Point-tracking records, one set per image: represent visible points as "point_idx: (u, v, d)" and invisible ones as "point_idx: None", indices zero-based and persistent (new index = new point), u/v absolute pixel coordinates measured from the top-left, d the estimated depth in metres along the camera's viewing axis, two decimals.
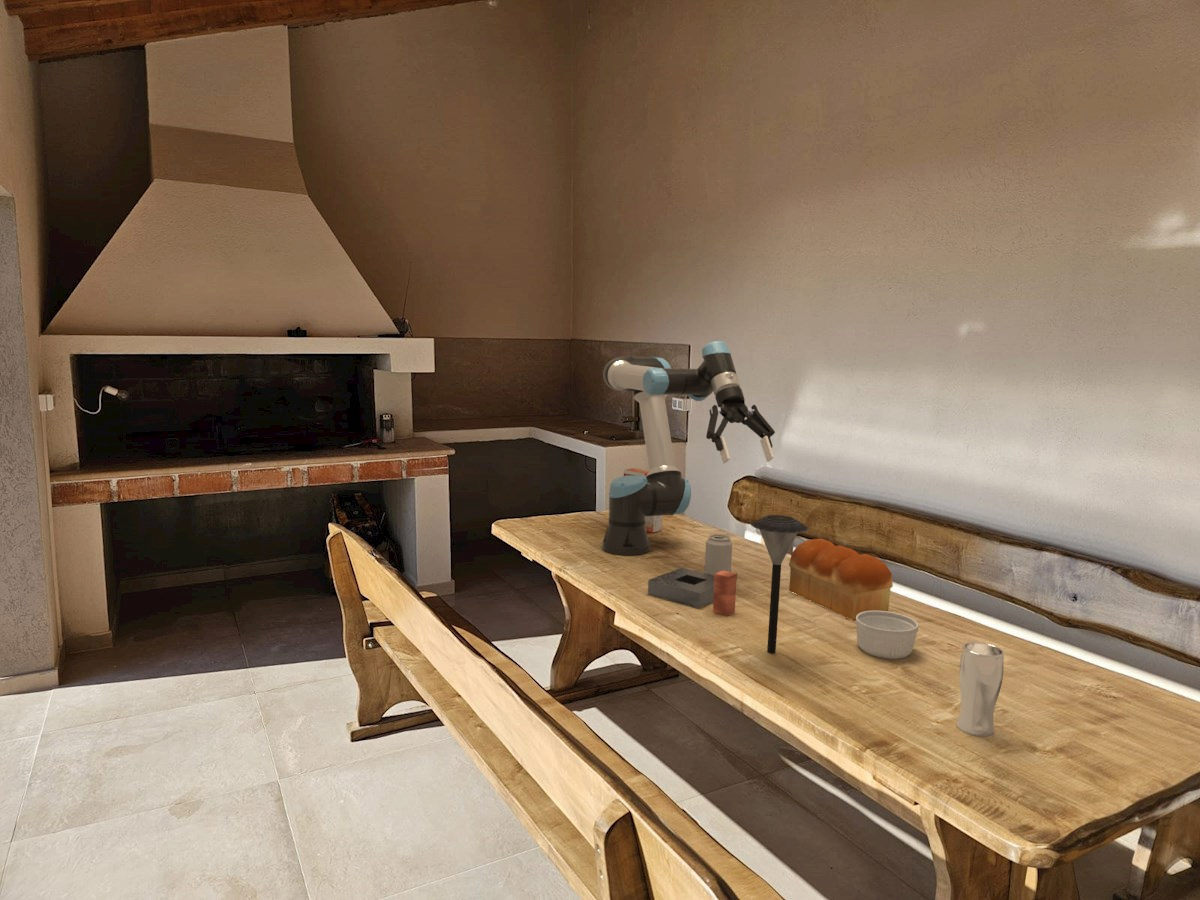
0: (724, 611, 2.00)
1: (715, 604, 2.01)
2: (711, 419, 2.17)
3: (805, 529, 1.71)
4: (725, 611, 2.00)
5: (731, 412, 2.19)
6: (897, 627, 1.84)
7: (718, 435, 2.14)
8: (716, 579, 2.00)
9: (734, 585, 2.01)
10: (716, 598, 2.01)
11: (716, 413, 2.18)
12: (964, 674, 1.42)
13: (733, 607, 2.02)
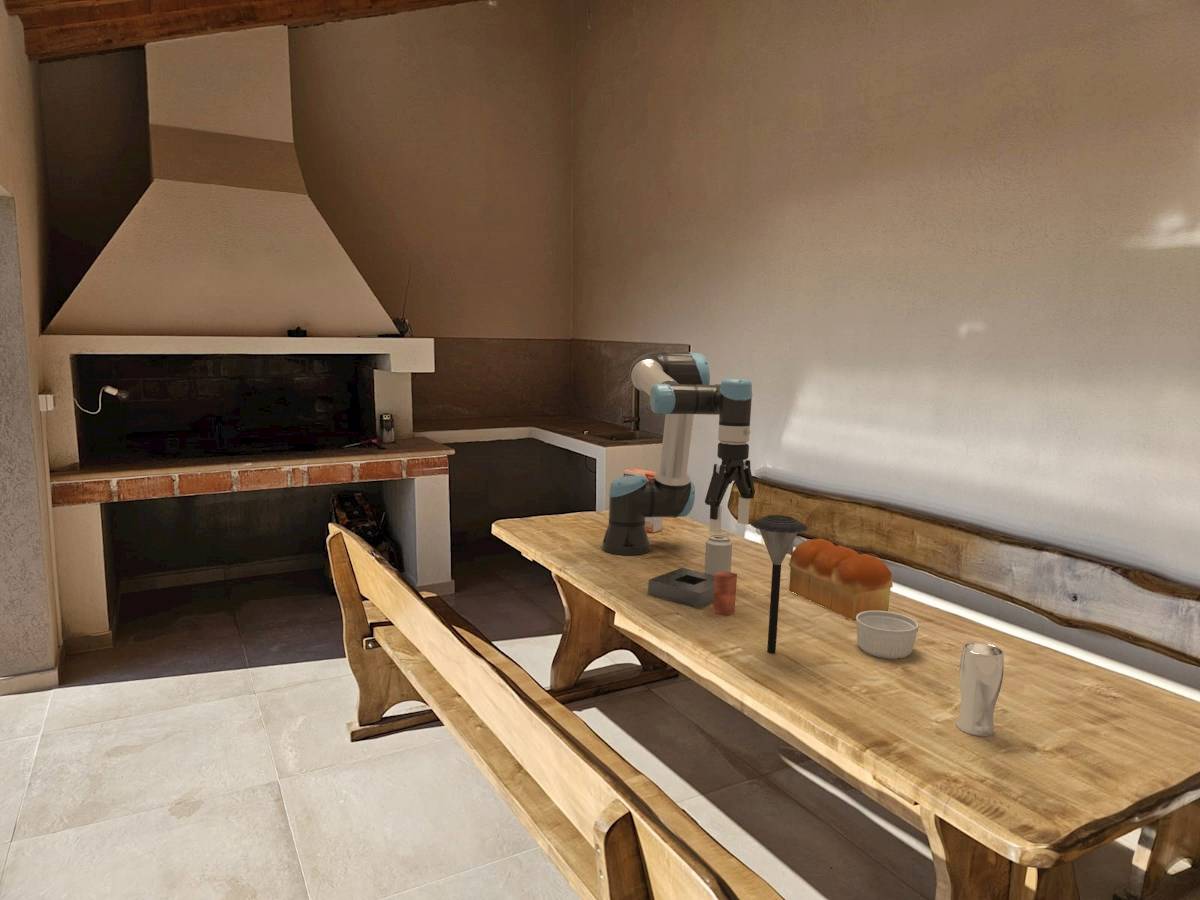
0: (724, 611, 2.00)
1: (715, 604, 2.01)
2: (715, 481, 1.92)
3: (805, 529, 1.71)
4: (725, 611, 2.00)
5: (733, 474, 1.95)
6: (897, 627, 1.84)
7: (718, 505, 1.92)
8: (716, 579, 2.00)
9: (734, 585, 2.01)
10: (716, 598, 2.01)
11: (722, 476, 1.92)
12: (964, 674, 1.42)
13: (733, 607, 2.02)
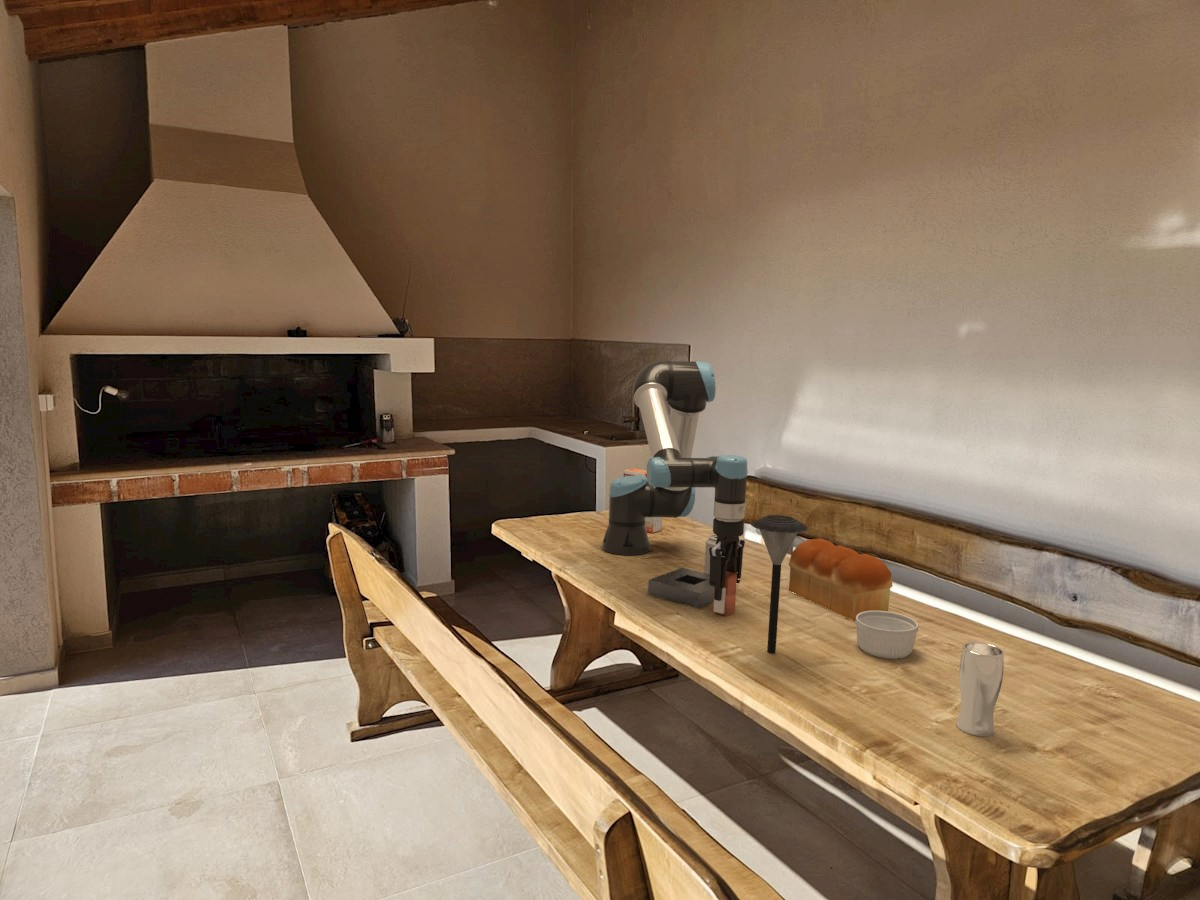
0: None
1: None
2: (714, 565, 1.96)
3: (805, 529, 1.71)
4: (725, 611, 2.00)
5: (730, 551, 1.98)
6: (897, 627, 1.84)
7: (722, 587, 1.98)
8: None
9: (734, 585, 2.01)
10: None
11: (720, 558, 1.95)
12: (964, 674, 1.42)
13: (733, 607, 2.02)
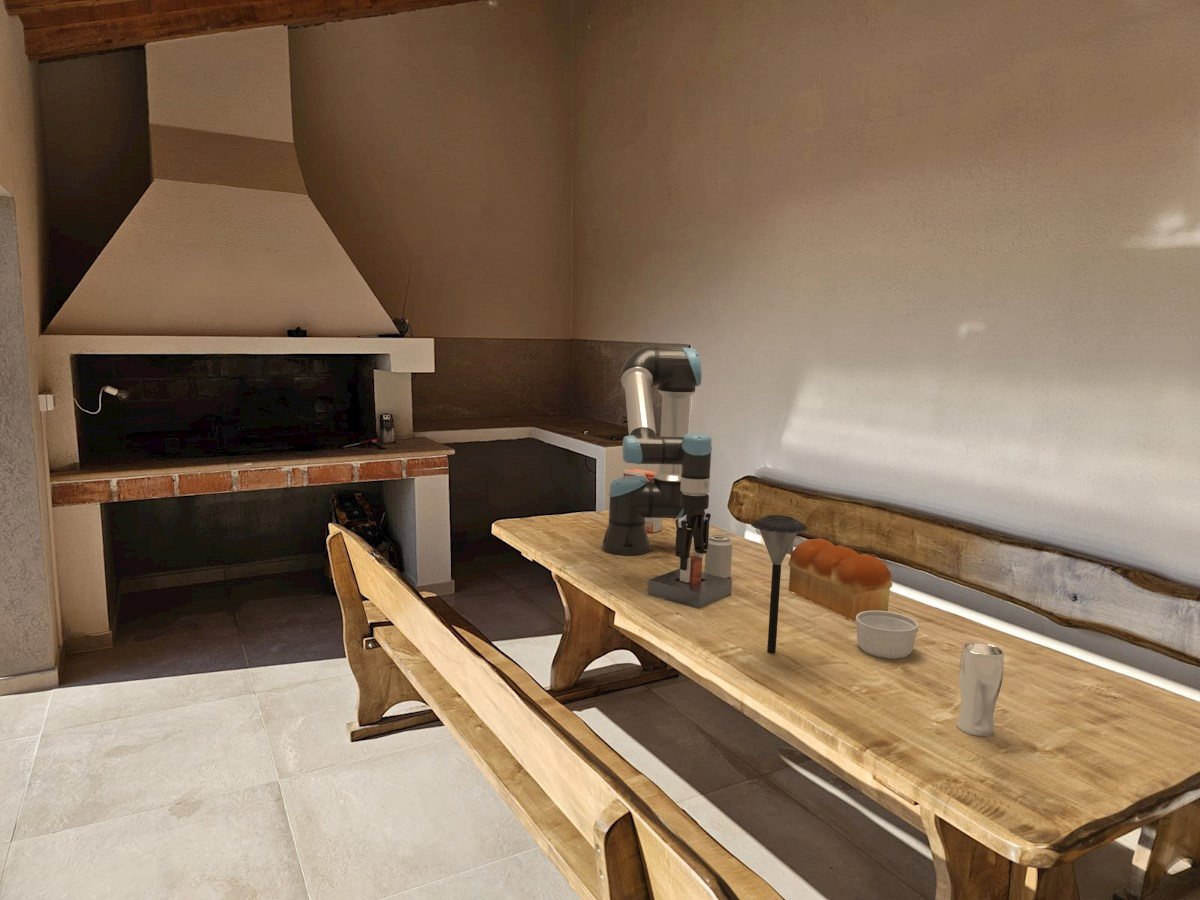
0: None
1: None
2: (680, 536, 2.08)
3: (805, 529, 1.71)
4: None
5: (695, 524, 2.11)
6: (897, 627, 1.84)
7: (687, 557, 2.10)
8: None
9: (699, 568, 2.14)
10: None
11: (685, 530, 2.08)
12: (964, 674, 1.42)
13: None
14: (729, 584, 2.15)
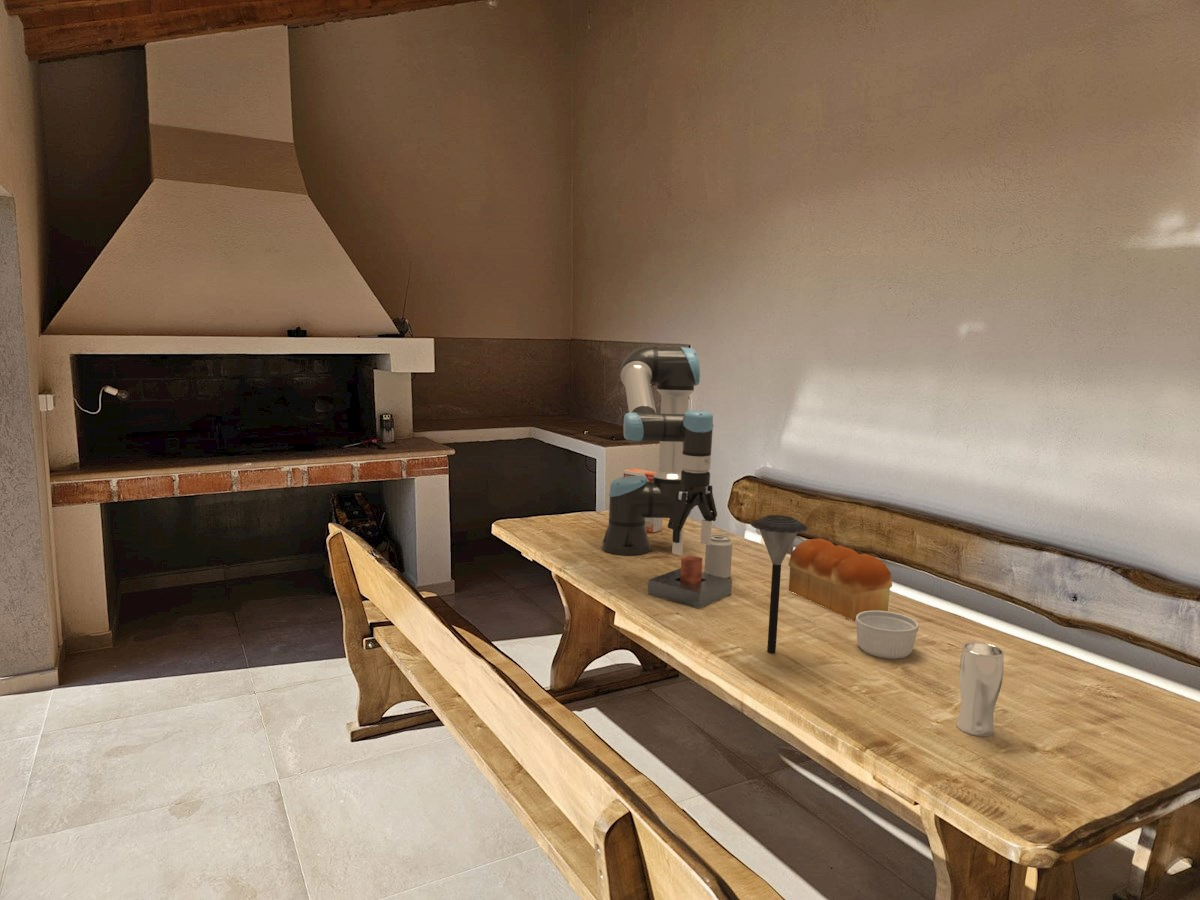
0: None
1: None
2: (678, 507, 2.06)
3: (805, 529, 1.71)
4: None
5: (695, 500, 2.10)
6: (897, 627, 1.84)
7: (680, 529, 2.07)
8: (683, 563, 2.14)
9: (700, 568, 2.14)
10: (683, 581, 2.14)
11: (684, 503, 2.06)
12: (964, 674, 1.42)
13: None
14: (729, 584, 2.15)
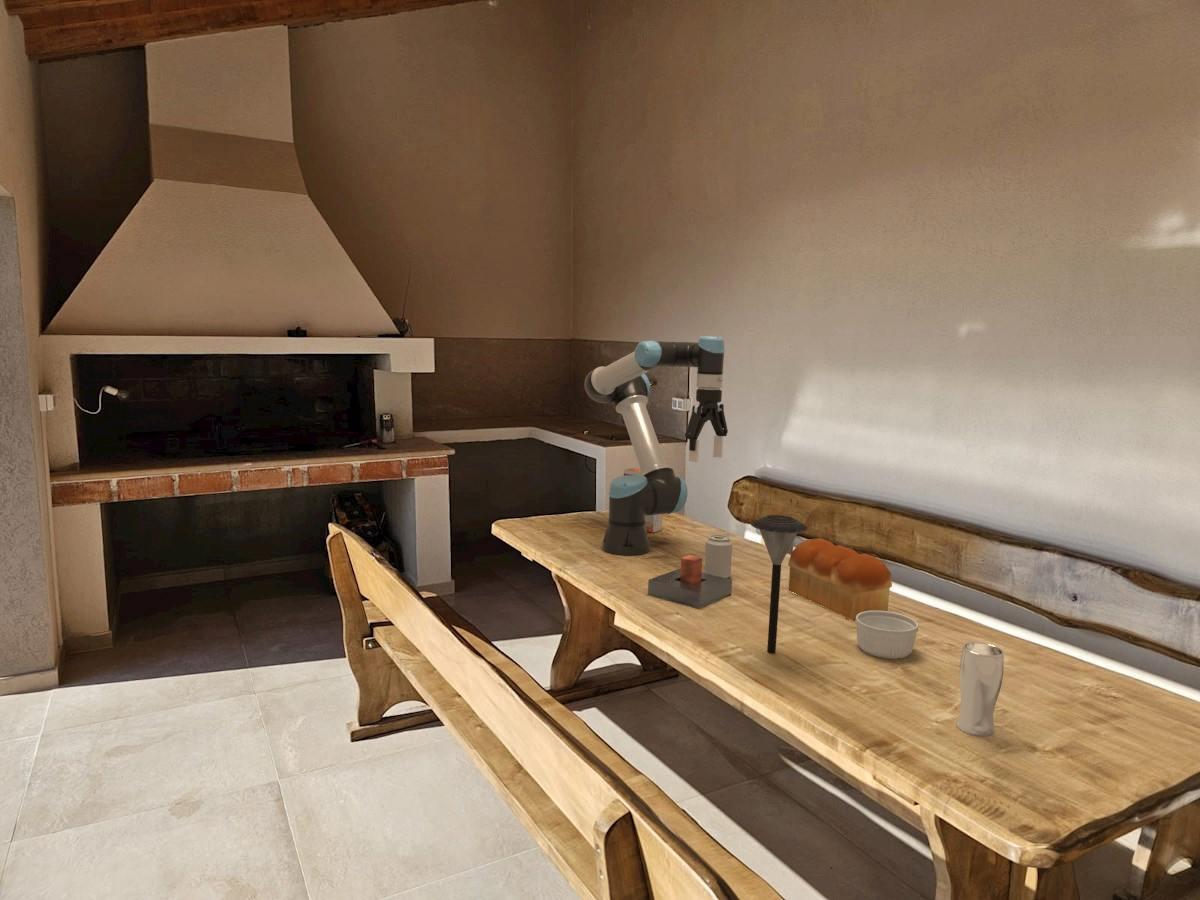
0: None
1: None
2: (694, 419, 2.35)
3: (805, 529, 1.71)
4: None
5: (709, 414, 2.38)
6: (897, 627, 1.84)
7: (696, 438, 2.35)
8: (683, 563, 2.14)
9: (700, 568, 2.14)
10: (683, 581, 2.14)
11: (699, 415, 2.35)
12: (964, 674, 1.42)
13: None
14: (729, 584, 2.15)
